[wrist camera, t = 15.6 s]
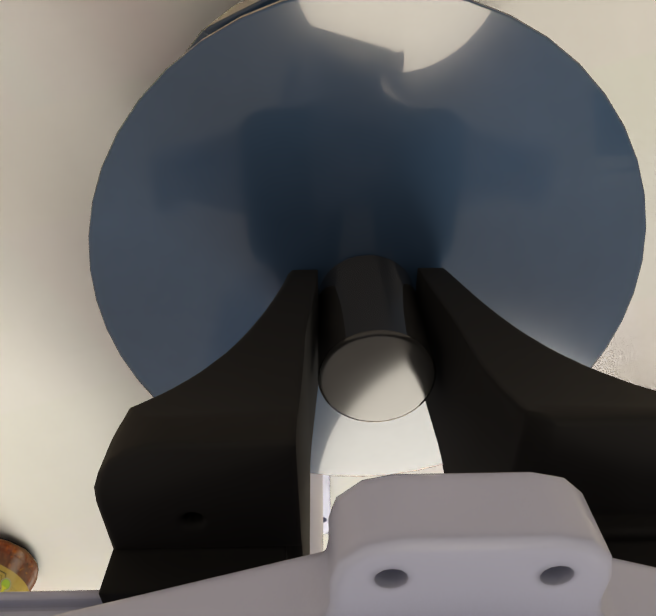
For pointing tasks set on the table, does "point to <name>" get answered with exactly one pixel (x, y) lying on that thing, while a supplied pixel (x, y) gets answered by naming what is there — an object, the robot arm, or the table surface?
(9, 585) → the sauce bottle
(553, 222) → the pot lid
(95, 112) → the table surface
